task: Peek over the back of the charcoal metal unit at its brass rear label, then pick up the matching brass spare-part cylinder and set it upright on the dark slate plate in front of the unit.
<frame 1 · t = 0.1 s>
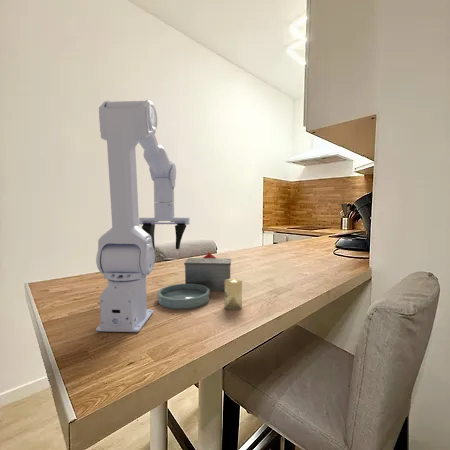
hand: (164, 248, 82), 10 cm above the counter, fingers open, 7 cm apart
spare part: (233, 306, 62), on the counter
plate: (184, 299, 67), on the counter
unit: (208, 287, 77), on the counter
onion: (209, 276, 89), on the counter
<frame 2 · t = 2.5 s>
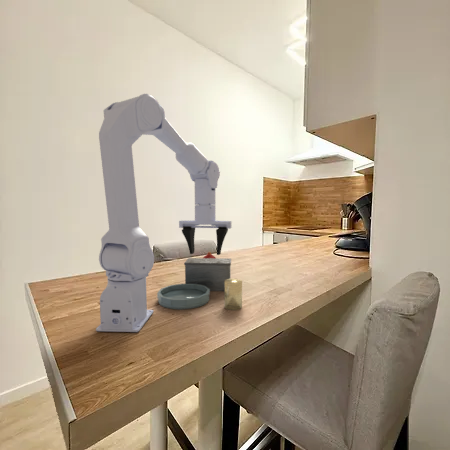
hand: (205, 253, 77), 9 cm above the counter, fingers open, 7 cm apart
nothing on the counter moved.
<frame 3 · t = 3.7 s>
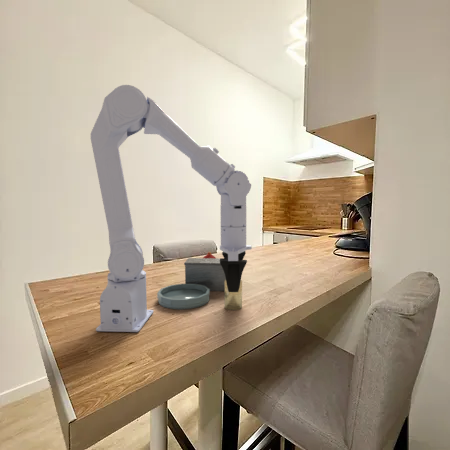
hand: (233, 286, 62), 5 cm above the counter, fingers open, 7 cm apart
nothing on the counter moved.
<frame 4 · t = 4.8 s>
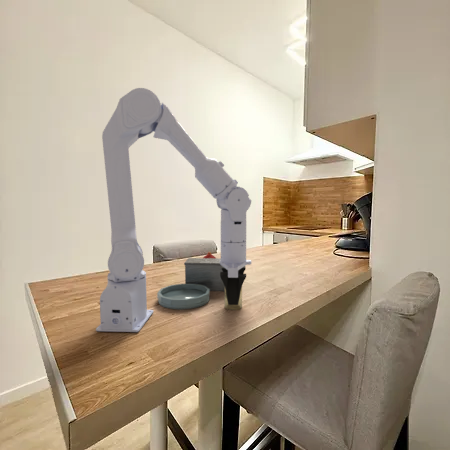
hand: (233, 300, 62), 1 cm above the counter, fingers closed on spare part, 4 cm apart
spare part: (233, 306, 62), on the counter, touching gripper
everything else where it was.
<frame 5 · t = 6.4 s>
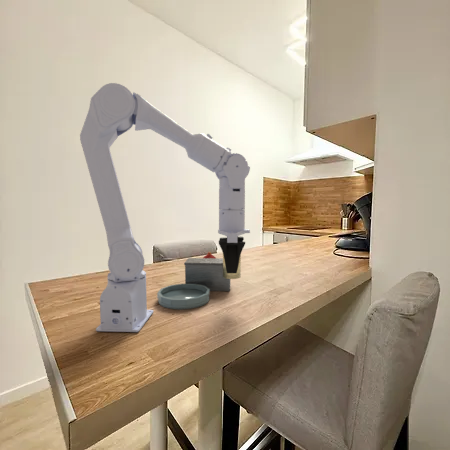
hand: (231, 270, 62), 8 cm above the counter, fingers closed on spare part, 4 cm apart
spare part: (231, 276, 62), point 7 cm above the counter, touching gripper
everything else where it was.
when the fingers open (4 cm above the counter, at t = 8.4 s): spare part drops 1 cm, resting on plate.
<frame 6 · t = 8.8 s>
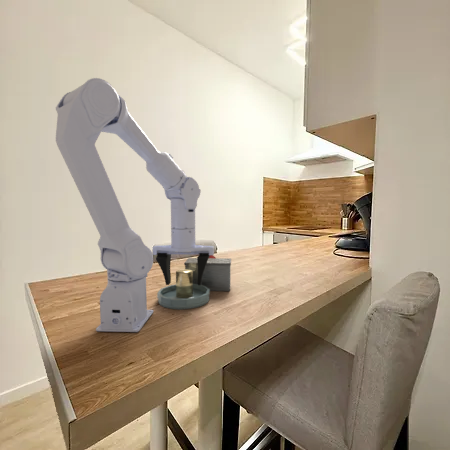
hand: (183, 284, 67), 4 cm above the counter, fingers open, 7 cm apart
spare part: (184, 295, 67), point 1 cm above the counter, touching plate
everything else where it was.
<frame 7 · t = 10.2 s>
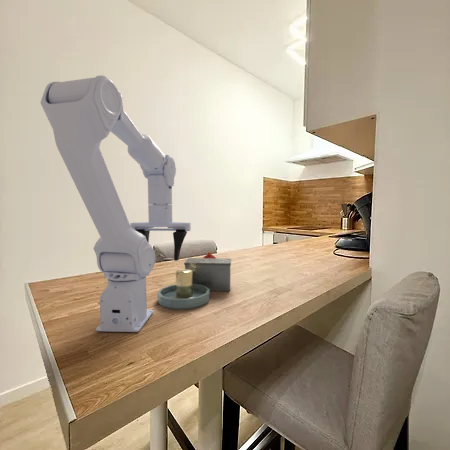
hand: (161, 259, 68), 9 cm above the counter, fingers open, 7 cm apart
nothing on the counter moved.
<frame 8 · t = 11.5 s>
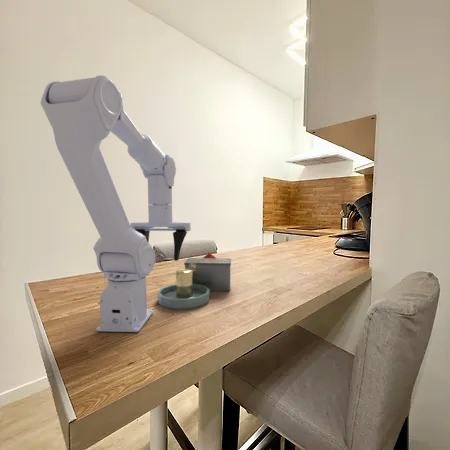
hand: (161, 259, 68), 9 cm above the counter, fingers open, 7 cm apart
nothing on the counter moved.
at the end: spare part 0.2 cm off-centre on the plate, point 1.0 cm above the plate's base; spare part tilted 0°; the gripper is holding nothing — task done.
